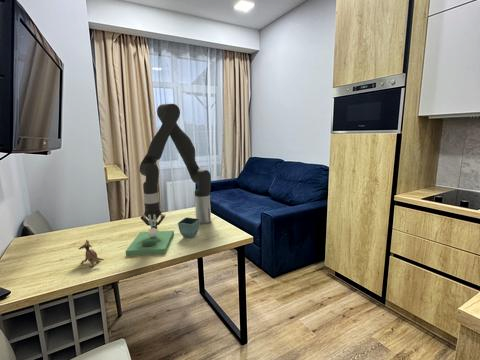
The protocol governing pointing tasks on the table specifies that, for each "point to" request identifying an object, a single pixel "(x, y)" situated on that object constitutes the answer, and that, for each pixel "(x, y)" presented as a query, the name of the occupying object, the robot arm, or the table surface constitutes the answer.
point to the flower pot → (189, 227)
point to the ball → (153, 232)
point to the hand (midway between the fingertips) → (154, 232)
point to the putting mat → (150, 244)
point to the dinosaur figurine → (90, 254)
